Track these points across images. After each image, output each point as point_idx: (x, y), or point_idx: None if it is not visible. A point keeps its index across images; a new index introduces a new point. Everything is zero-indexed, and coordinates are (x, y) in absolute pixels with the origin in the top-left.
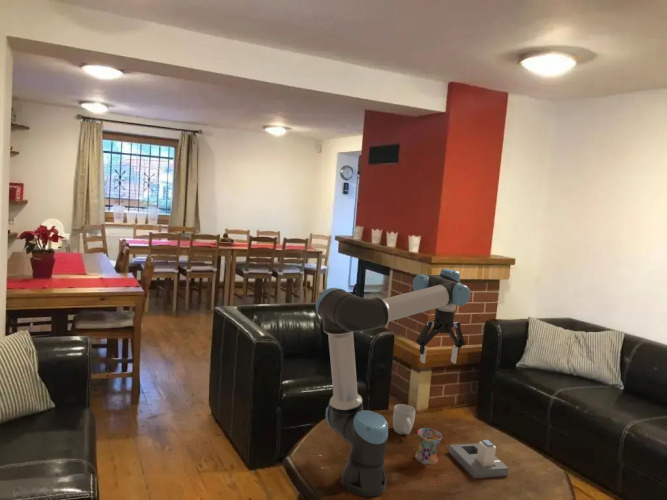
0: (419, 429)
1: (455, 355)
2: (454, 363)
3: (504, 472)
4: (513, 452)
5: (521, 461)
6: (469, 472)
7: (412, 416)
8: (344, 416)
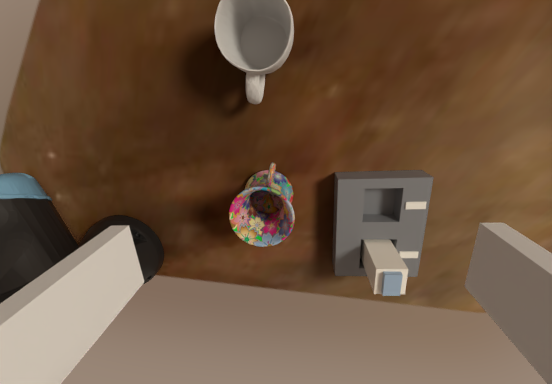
0: (241, 193)
1: (539, 370)
2: (468, 286)
3: None
4: (520, 174)
5: (502, 212)
6: (333, 252)
7: (271, 70)
8: None
